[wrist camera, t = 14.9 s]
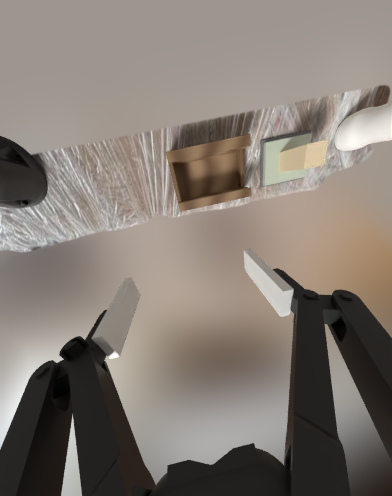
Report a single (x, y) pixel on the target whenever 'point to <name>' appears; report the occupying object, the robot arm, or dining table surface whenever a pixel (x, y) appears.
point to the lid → (291, 158)
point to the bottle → (365, 128)
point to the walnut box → (209, 172)
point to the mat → (263, 152)
